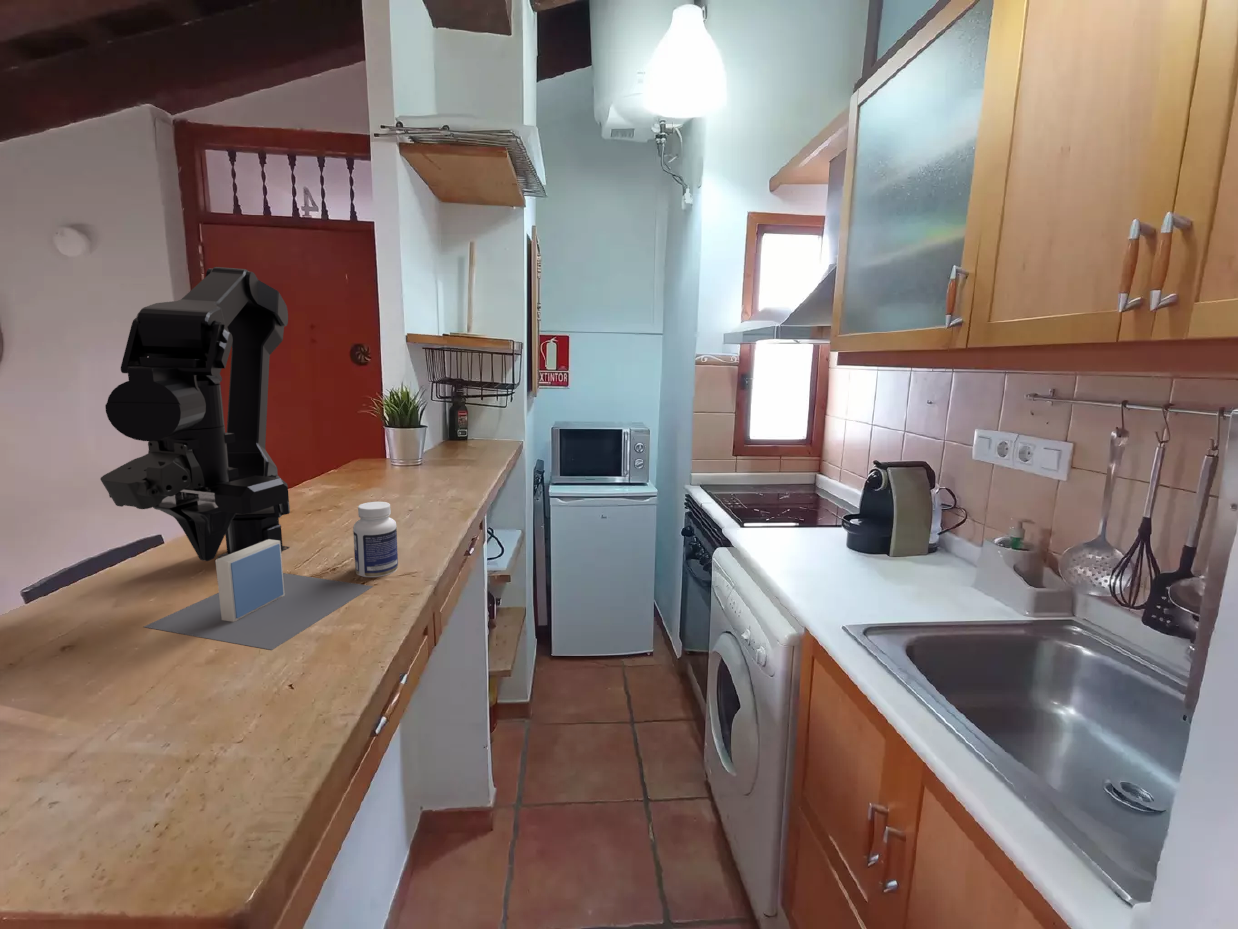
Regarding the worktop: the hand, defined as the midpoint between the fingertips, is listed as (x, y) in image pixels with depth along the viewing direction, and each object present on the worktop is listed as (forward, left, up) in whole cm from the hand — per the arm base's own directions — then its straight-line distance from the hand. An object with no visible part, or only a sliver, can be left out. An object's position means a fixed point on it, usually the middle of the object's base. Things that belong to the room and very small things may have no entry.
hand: (207, 559), depth 64 cm
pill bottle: (+12, +14, -6) cm, 19 cm away
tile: (+6, 0, -5) cm, 8 cm away
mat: (+7, +1, -6) cm, 9 cm away
